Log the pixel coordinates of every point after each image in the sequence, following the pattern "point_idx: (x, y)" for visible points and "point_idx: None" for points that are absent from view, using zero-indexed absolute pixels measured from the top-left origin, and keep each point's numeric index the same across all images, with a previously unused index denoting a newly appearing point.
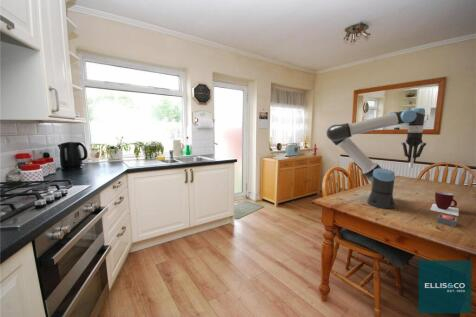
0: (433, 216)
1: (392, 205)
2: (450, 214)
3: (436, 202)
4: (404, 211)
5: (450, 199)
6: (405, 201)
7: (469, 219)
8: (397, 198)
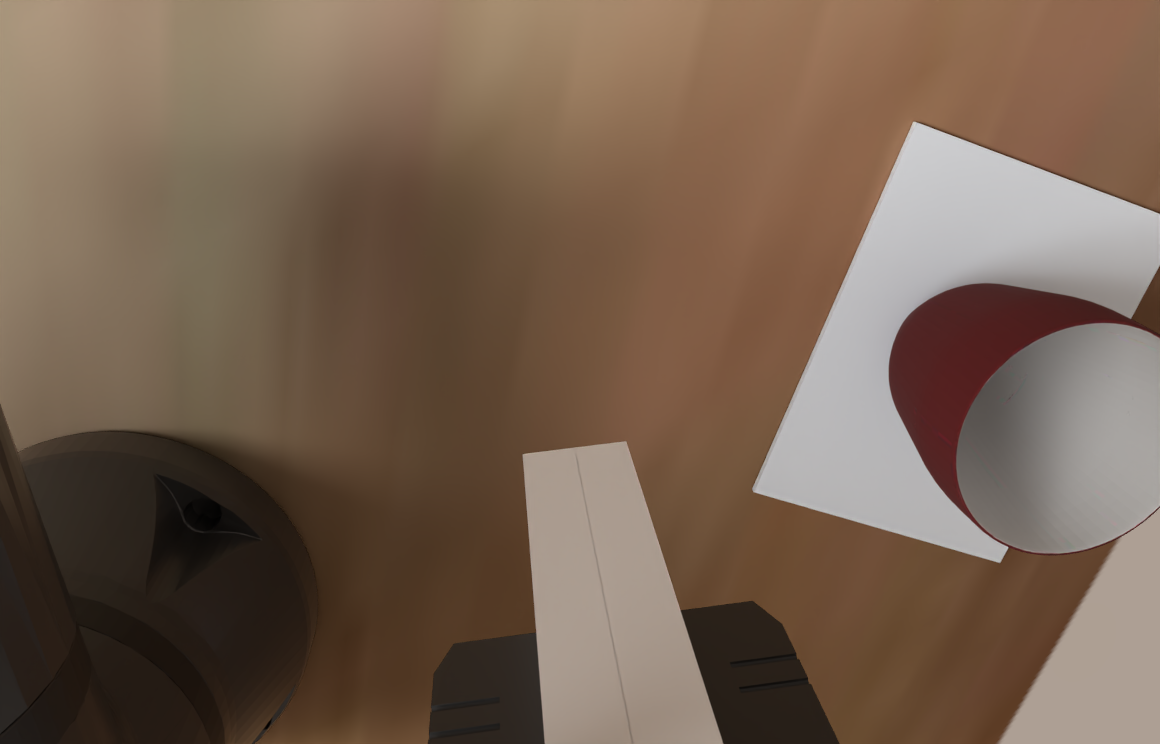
0: None
1: (271, 725)
2: (935, 540)
3: (894, 400)
4: (419, 713)
5: (1072, 505)
6: (515, 198)
7: (1060, 611)
8: (408, 53)
